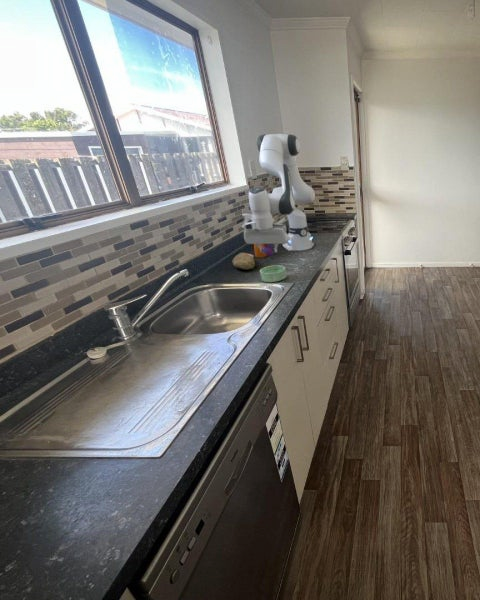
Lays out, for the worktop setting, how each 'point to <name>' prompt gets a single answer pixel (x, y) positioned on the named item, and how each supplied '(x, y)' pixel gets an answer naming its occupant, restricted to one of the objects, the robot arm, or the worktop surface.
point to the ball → (268, 250)
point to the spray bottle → (257, 250)
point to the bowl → (273, 273)
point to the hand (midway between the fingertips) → (269, 252)
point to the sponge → (244, 261)
